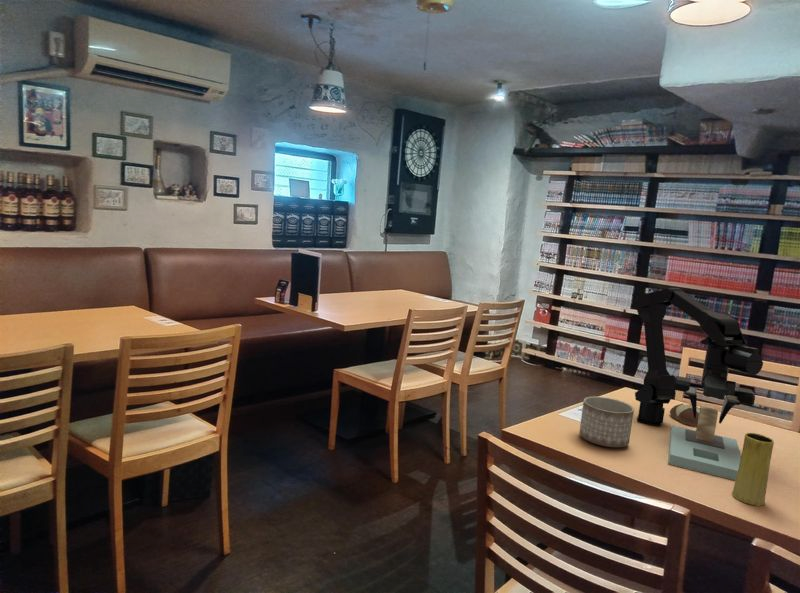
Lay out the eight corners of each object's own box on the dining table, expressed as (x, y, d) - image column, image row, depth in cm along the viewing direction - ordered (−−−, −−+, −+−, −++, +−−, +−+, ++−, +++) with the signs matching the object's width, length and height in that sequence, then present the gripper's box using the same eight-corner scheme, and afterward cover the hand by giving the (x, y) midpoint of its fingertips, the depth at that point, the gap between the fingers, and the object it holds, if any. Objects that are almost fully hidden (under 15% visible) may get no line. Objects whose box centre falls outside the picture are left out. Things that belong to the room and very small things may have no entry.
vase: (765, 509, 115) (777, 445, 112) (731, 499, 118) (742, 437, 116) (763, 498, 120) (775, 437, 118) (731, 489, 123) (742, 429, 121)
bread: (687, 428, 161) (689, 412, 161) (663, 414, 172) (665, 399, 172) (720, 428, 163) (723, 413, 162) (694, 415, 174) (696, 400, 173)
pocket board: (668, 463, 134) (670, 453, 133) (670, 433, 155) (671, 424, 155) (743, 482, 127) (745, 471, 126) (734, 448, 148) (736, 438, 147)
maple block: (696, 438, 145) (700, 410, 144) (695, 433, 148) (700, 406, 147) (713, 442, 143) (718, 413, 142) (712, 437, 147) (717, 409, 145)
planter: (576, 429, 153) (581, 393, 151) (623, 436, 150) (628, 400, 149) (581, 446, 140) (587, 408, 139) (633, 454, 138) (639, 415, 137)
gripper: (677, 363, 140) (668, 420, 142) (762, 378, 131) (751, 439, 134) (677, 355, 150) (669, 409, 152) (756, 368, 141) (746, 425, 144)
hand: (707, 420), depth 145 cm, fingers open, 6 cm apart
